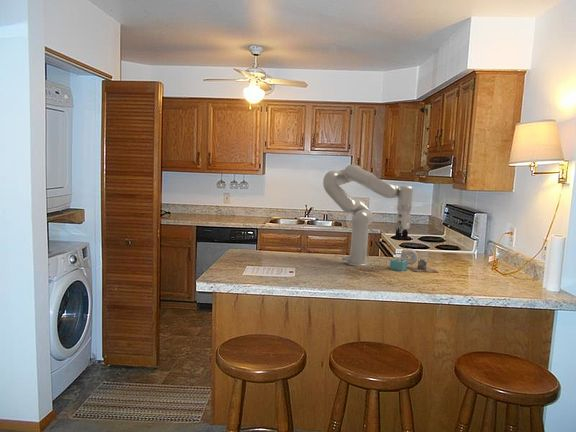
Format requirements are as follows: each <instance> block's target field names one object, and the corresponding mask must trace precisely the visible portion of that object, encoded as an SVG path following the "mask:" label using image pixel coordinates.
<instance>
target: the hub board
mask: <svg viewBox="0 0 576 432" xmlns="http://www.w3.org/2000/svg"><path fill="white" fill-rule="evenodd" d="M407 270H409V271H412V272H414V273H427V274H428V273H434V274H435V273H437V274H439V271H438V270H436V269H433V268H432V267H429V266H427V261H426V260H425V259H424V258H419V259H417V266H410V265H409V266H408V265H407Z"/></svg>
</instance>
